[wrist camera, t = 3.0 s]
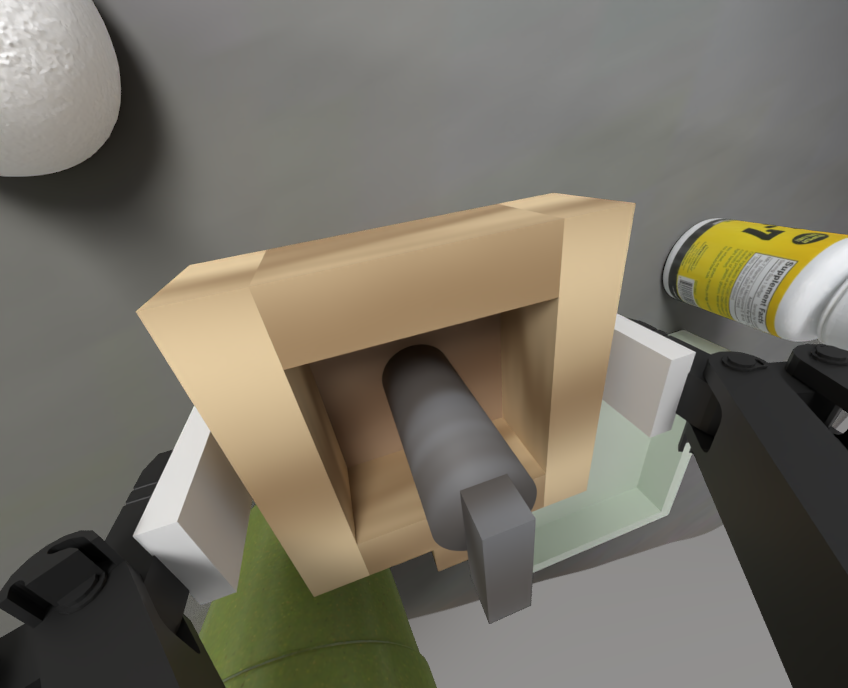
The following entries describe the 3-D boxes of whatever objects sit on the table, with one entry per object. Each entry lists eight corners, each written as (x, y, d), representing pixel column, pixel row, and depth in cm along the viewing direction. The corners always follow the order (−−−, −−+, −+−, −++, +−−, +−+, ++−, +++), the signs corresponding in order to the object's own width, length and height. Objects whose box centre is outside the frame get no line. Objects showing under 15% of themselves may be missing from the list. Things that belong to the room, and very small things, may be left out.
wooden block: (268, 251, 13) (154, 499, 3) (460, 213, 15) (755, 312, 5) (326, 408, 17) (347, 724, 7) (472, 365, 19) (646, 584, 9)
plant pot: (231, 425, 16) (118, 806, 7) (434, 466, 21) (533, 707, 12) (164, 582, 19) (23, 987, 10) (354, 583, 25) (382, 846, 15)
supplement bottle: (742, 222, 20) (989, 257, 12) (701, 300, 22) (893, 367, 14) (685, 211, 18) (930, 242, 11) (646, 295, 20) (831, 368, 13)
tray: (458, 399, 19) (480, 434, 17) (683, 329, 22) (731, 351, 20) (474, 551, 27) (491, 590, 25) (638, 485, 30) (668, 514, 28)
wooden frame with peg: (189, 265, 8) (135, 311, 6) (553, 192, 10) (635, 203, 7) (323, 534, 14) (326, 616, 11) (538, 456, 16) (582, 513, 13)
